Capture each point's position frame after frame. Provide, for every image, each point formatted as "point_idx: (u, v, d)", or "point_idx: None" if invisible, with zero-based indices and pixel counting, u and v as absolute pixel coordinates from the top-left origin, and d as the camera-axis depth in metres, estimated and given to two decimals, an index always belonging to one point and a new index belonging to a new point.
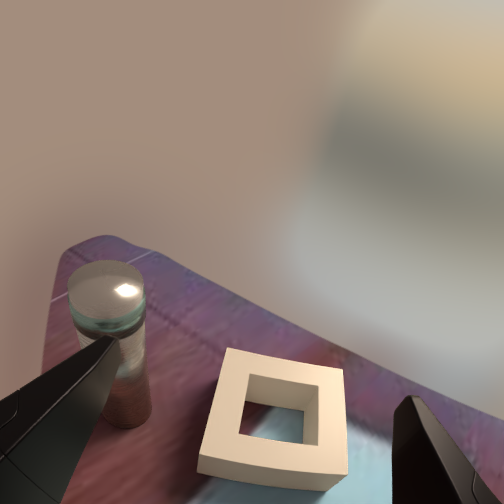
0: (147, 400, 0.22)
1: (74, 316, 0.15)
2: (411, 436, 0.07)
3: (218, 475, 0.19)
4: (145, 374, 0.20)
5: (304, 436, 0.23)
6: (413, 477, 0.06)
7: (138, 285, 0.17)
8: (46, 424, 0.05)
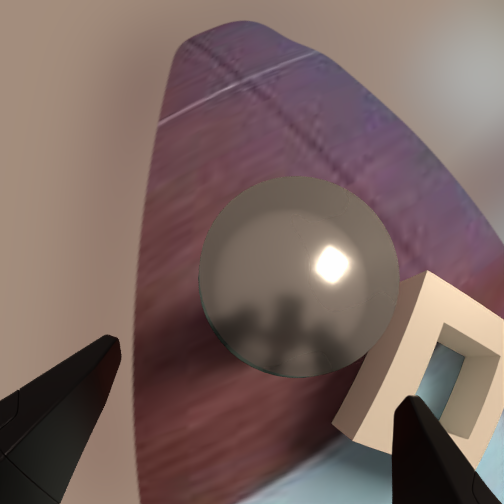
0: None
1: None
2: (411, 436, 0.07)
3: None
4: None
5: (454, 395, 0.18)
6: (413, 477, 0.06)
7: (389, 289, 0.07)
8: (46, 424, 0.05)
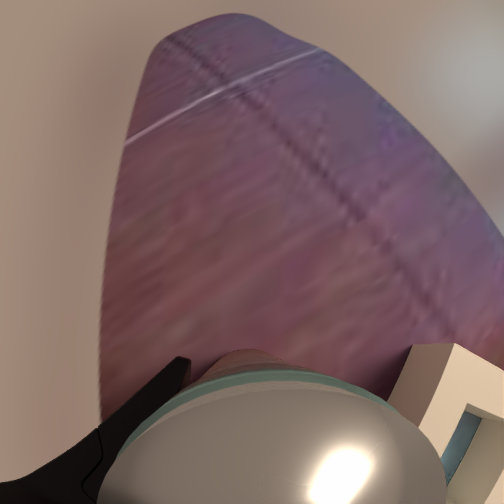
0: None
1: None
2: None
3: None
4: None
5: (466, 461, 0.13)
6: None
7: None
8: None
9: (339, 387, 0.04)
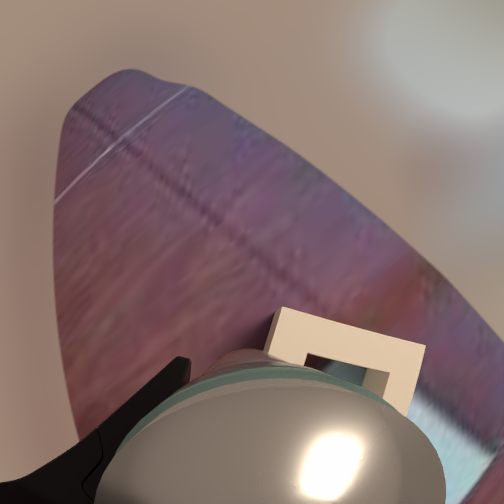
0: None
1: None
2: None
3: None
4: None
5: None
6: None
7: None
8: None
9: (337, 385, 0.04)
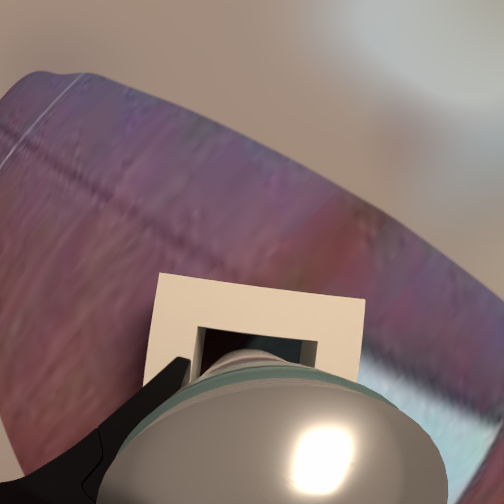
0: None
1: None
2: None
3: None
4: None
5: None
6: None
7: None
8: None
9: (340, 384, 0.04)
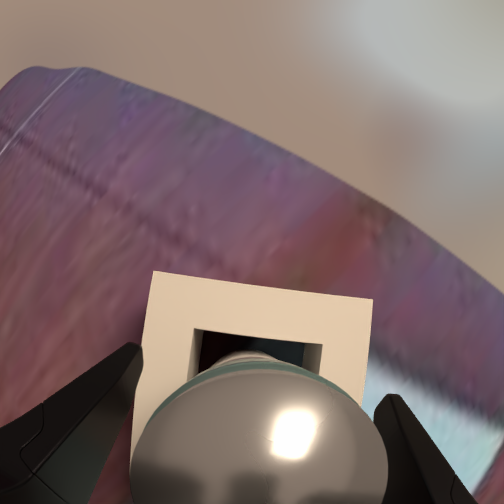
0: None
1: None
2: (389, 436, 0.07)
3: None
4: None
5: None
6: (391, 478, 0.06)
7: (369, 503, 0.04)
8: (74, 438, 0.05)
9: (304, 374, 0.05)
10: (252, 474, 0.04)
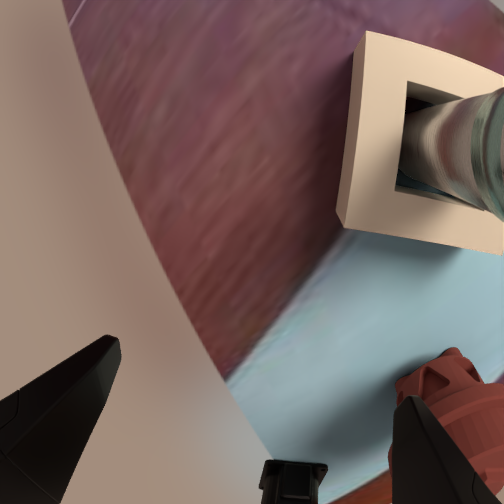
0: None
1: (496, 197, 0.07)
2: (411, 436, 0.07)
3: None
4: None
5: None
6: (413, 477, 0.06)
7: None
8: (46, 424, 0.05)
9: None
10: None
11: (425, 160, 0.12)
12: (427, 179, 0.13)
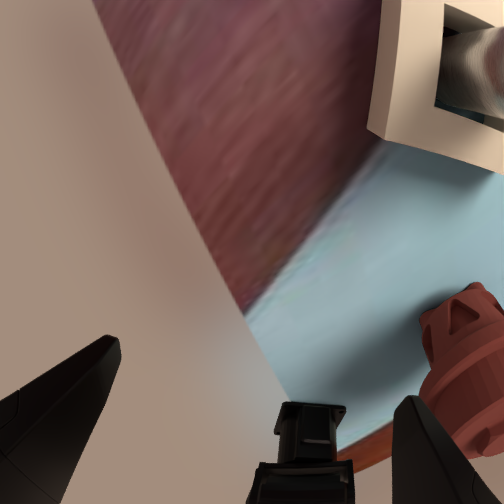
0: None
1: None
2: (411, 436, 0.07)
3: None
4: None
5: None
6: (413, 477, 0.06)
7: None
8: (46, 424, 0.05)
9: None
10: None
11: (473, 78, 0.09)
12: (469, 98, 0.11)
